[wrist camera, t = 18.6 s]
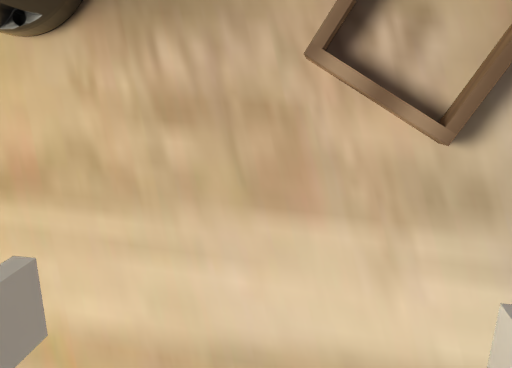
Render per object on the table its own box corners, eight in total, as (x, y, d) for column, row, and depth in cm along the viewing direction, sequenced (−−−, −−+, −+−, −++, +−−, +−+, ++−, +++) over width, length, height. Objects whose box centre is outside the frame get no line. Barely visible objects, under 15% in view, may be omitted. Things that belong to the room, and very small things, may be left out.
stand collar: (306, 58, 35) (303, 53, 32) (400, -92, 32) (407, -113, 29) (438, 143, 34) (448, 146, 31) (548, -3, 31) (570, -15, 28)
